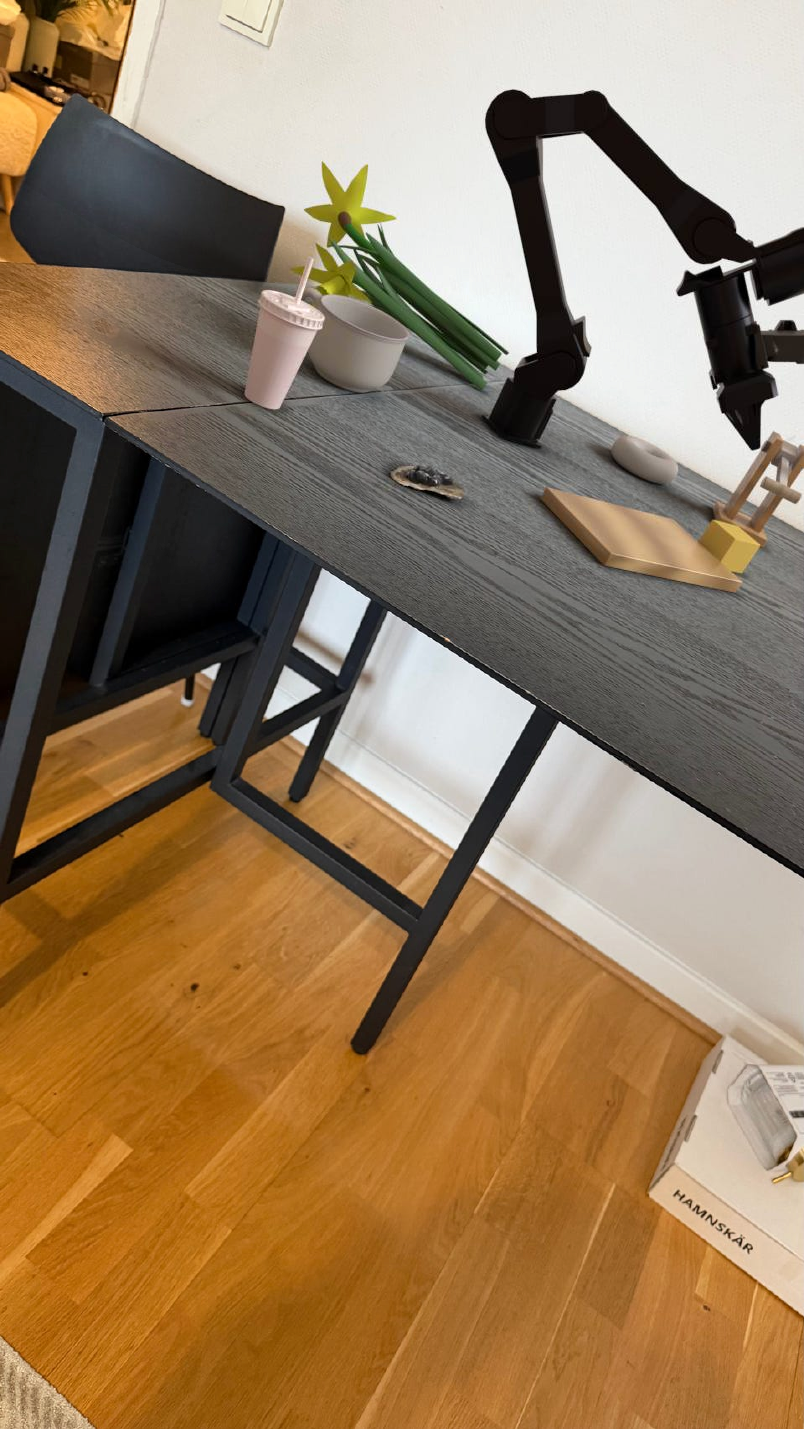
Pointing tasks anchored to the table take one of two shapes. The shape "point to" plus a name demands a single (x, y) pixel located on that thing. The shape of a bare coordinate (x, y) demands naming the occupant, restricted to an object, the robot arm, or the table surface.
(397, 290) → the daffodil flowers
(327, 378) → the teacup
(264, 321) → the smoothie
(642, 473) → the donut
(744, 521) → the wooden dowel stand
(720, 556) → the yellow cube
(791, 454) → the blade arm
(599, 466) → the table surface
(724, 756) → the table surface
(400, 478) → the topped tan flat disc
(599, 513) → the cutting board
